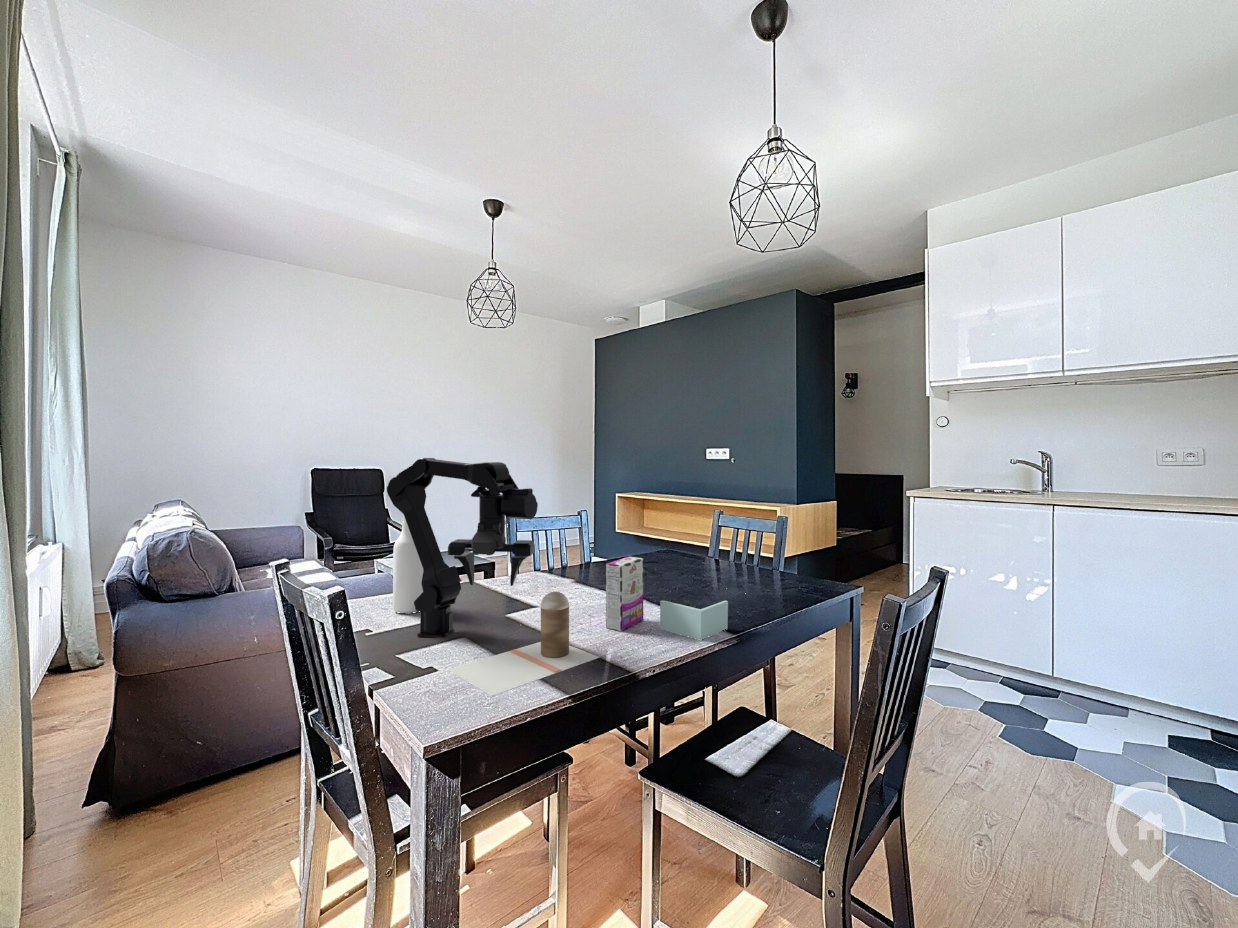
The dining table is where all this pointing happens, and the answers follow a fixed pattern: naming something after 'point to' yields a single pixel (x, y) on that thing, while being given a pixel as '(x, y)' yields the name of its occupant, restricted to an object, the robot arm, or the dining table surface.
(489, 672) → the mat
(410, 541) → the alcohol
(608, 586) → the candy bar box
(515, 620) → the dining table surface
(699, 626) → the right angle wall
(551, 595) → the walnut pin
